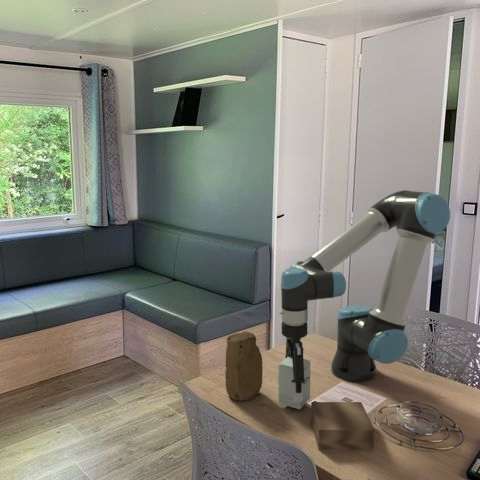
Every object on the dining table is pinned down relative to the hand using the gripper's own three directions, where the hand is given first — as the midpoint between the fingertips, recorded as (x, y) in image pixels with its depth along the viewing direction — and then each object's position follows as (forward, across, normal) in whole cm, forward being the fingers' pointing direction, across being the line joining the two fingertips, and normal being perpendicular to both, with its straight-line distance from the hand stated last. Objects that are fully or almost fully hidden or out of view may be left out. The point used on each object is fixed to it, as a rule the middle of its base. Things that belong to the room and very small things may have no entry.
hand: (294, 392), depth 146 cm
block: (+4, -8, -14) cm, 17 cm away
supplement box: (+3, 0, 0) cm, 3 cm away
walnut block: (+5, +16, +10) cm, 19 cm away
